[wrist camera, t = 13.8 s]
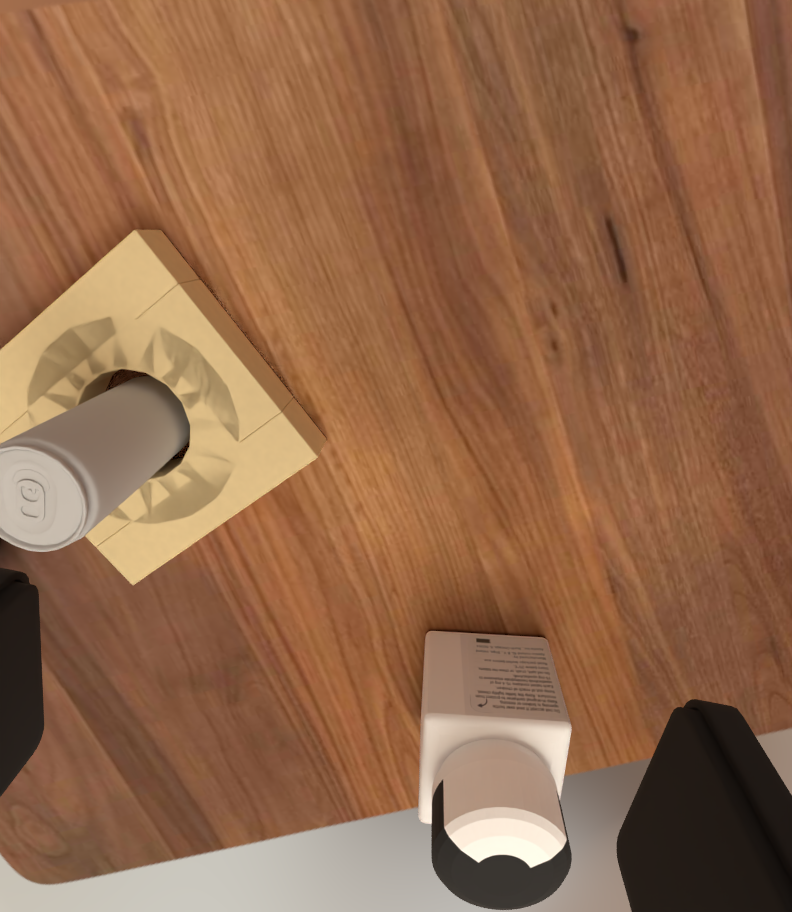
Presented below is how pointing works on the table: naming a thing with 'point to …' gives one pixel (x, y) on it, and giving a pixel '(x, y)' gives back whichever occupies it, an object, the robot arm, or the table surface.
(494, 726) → the container
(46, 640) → the table surface
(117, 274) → the socket pad
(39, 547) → the beverage can
